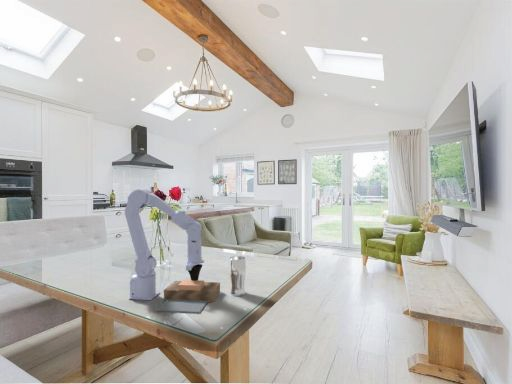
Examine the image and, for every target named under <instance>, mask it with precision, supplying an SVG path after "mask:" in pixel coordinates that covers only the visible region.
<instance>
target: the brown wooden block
mask: <svg viewBox="0 0 512 384" xmlns="http://www.w3.org/2000/svg"><path fill="white" fill-rule="evenodd" d="M182 281H183V280H175V281H174V282H173V283H171V284H170V285H168V286H167V287H166V288H165V289H163V300H164V301H167V300H168V299H180V300H204V301H208V303H214V302H215V299H216V298H217V297H218V296H219V294H220V293H221V282H214V281H213V282H212V281H211V282H210V281H204V286H203V288H202V289H201V290H200V291H195V290H178V284H179V283H181V282H182Z"/></svg>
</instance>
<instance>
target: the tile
mask: <svg viewBox="0 0 512 384" xmlns="http://www.w3.org/2000/svg"><path fill="white" fill-rule="evenodd" d="M181 281H182V282H181V283H179V284H178V290H195V291H200V290H201V289H202V288H203V286H204V282H205V280H199V279H198V280H191V279H183V280H181Z"/></svg>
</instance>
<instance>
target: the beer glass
mask: <svg viewBox="0 0 512 384" xmlns="http://www.w3.org/2000/svg"><path fill="white" fill-rule="evenodd" d="M228 267H229V276H230V284H231V288H230V295H231V296H234V297H240V296H242V297H243V296H244V295H245V294H246V290H245V281H246V280H245V279H246V272H247V262H246V256H241V255H237V256H236V255H234V256H231V257H229V266H228Z"/></svg>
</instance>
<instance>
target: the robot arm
mask: <svg viewBox="0 0 512 384" xmlns="http://www.w3.org/2000/svg"><path fill="white" fill-rule="evenodd" d="M145 206H151V207H153V206H154V207H156V208H157V209H159V211H161V212H163V213H164V214H167V216H169V217H170V218H171V222H172V223H174V224H175V225H176V226H178V227H179V228H181V230H183V231H185V232H186V234H187V243H186V244H187V260H186V265H185V270H186V271H187V272H188V274H189V277H190V280H199V277H200V272H201V270H202V267H203V263H205V260H203V257H202V234H201V232H202V225H201V223H200V222H199V221H198V220H196V219H195V218H194V217H193V218H192V217H191V216H189V215H188V214H186V213H187V211H185V210H180V209H179V210H176V209H174V208H173V207H172V206H171V205H169V204H168V203H167V202H166V201H164V200H163V199H162V198H160V197H159V196H157V194H155V193H152V192H151V191H150V190H147V189H134V190H133V191H132V192H131V193H130V194H129V195H128V196H127V202H126V205H125V208H124V216H125V219H126V223H127V227H128V230H129V234H130V237H131V241H132V244H133V248H134V252H135V259H134V261H135V266H134V267H135V268H134V272H135V273H134V274H133V275H132V276H131V277H130V280H129V297H128V299H129V300H141V301H151V300H152V299H154V298H155V297H156V296H158V295H159V294H161V293H160V291H157V287H156V285H157V283H156V281H157V280H156V279H157V278H156V271H155V268H156V267H157V260H156V258H155V257H154V256H153V253H152V251H151V250H150V248H149V246H148V241H147V237H146V235H145V230H144V227H143V223H142V219H141V216H140V213H141V211H143V209H144V207H145Z"/></svg>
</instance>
